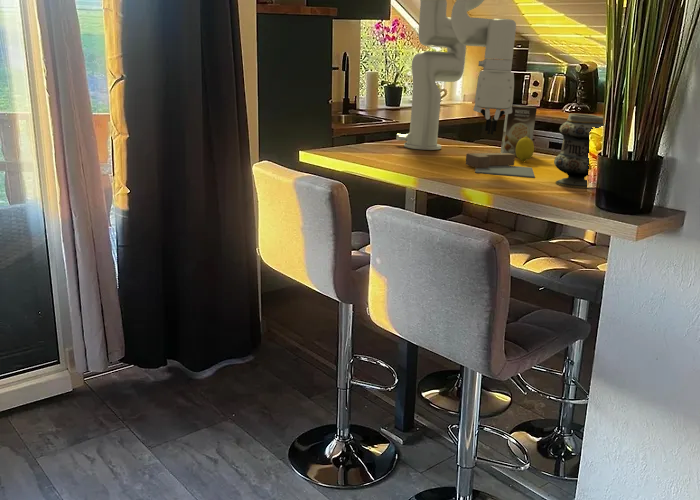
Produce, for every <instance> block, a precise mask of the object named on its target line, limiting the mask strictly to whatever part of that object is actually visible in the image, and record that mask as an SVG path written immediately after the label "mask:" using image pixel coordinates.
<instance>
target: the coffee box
mask: <svg viewBox="0 0 700 500" xmlns="http://www.w3.org/2000/svg"><path fill="white" fill-rule="evenodd" d="M537 109H538V107H535V106H530V105H529V106H526V105H514V104H512V113H511V114H505V118H504V123H503V132H502V139H501V146H500V147H501V148H500V153H511V154H515V157H517V155H516V145H517V143H518V141H519V140H520V139H521V138H524V137H525V136H527V137H528V138H530V139H531V140H532V141H533V138H534V132H535V131H534V130H535V123H536V116H537V111H538V110H537Z"/></svg>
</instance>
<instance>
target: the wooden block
mask: <svg viewBox="0 0 700 500" xmlns="http://www.w3.org/2000/svg"><path fill="white" fill-rule="evenodd" d="M515 160H516V156H515V154H511V153H501V152H492V153H491V152H487V153H486V152H482V153H481V152H478V153H476V152H475V153H469V152H468V153H466V154H465V165H466V166H468V167H469V166H470V167H472V168H475V169H476V168H488V167H489V166H515Z"/></svg>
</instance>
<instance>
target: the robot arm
mask: <svg viewBox="0 0 700 500" xmlns="http://www.w3.org/2000/svg"><path fill="white" fill-rule="evenodd" d="M484 1H485V0H455V2H454V4H453V7H452V9H451V16H450V17H449V16H447V5H448V2H447V0H420V6H419V18H418V19H419V20H418V21H419V22H418V41H419V43H420V44H421V46H425V47H430V48H444V49H446V51H439V50H438V51H436V50H424V51H420V52H417V53H415V55H414V56H413V58H412V61H411V72H412V73H411V74H412V75H411V76H412V95H411V96H412V97H411V110H410V111H411V112H410V125H409V132H408V133H406V134H401V133H397V134H396V138H395V139H396V140H397V141H405V142H404V143H403V146H404V148H408V149H413V150H422V151H423V150H424V151H435V150H436V151H437V150H441V149H442V145H441V144H439V143H438V137H439V135H438V134H439V125H440V124H439V122H440V114H441V113H440V112H441V101H442V100H441V99H442V95H441V91H440V88H439V87H438V85H437V83H436V82H439V83H440V82H444V83H446V82H448V83H454V82H455V83H456V82H458V81H459V80H460V79H461V78H462V76H463V75H464V71H465V63H466V50H467V46H468V47H483V48H485V49H484V59H483V60H478V67H481V68H483V70H480V71H479V73H478V74H479V76H478V79H477V85H476V91H475V99H474V106H473V111H474V112H476V113H480V114H481V115H482V116H483V117H484V118H485V119H486V120H485V128H484V131H486V132H487V133H486V134H487V135H494V132H497V125H498V120H499V119H500V118H501V117H503V116H504V115H506V114H511V113H512V105H513V103H514V92H515V74H514V72H512V66H513V65H512V64H513V58H514V57H513V56H514V48H515V39H516V32H517V22H516V21H515V20H513V19H509V18H493V19H492V18H486V17H485V18H484V17H472V16H471V17H470V16H469V14H468V12H470V11H471V10H474V9H477V8H478V7H480V5H481V4H482V3H483V2H484ZM491 109H493V110H495V112H494V116H493V117H491V111H490V110H491Z"/></svg>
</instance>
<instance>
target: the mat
mask: <svg viewBox="0 0 700 500" xmlns="http://www.w3.org/2000/svg"><path fill="white" fill-rule="evenodd" d="M474 173H475V174H484V175H494V176H495V175H497V176H509V177H520V178H529V179H530V178H531V179H532V178H533V179H535V178H536V175H535V173H534V169H533V167H529V166H519V165H518V166H517V165H513V166H489V167H488V168H475V170H474Z"/></svg>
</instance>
